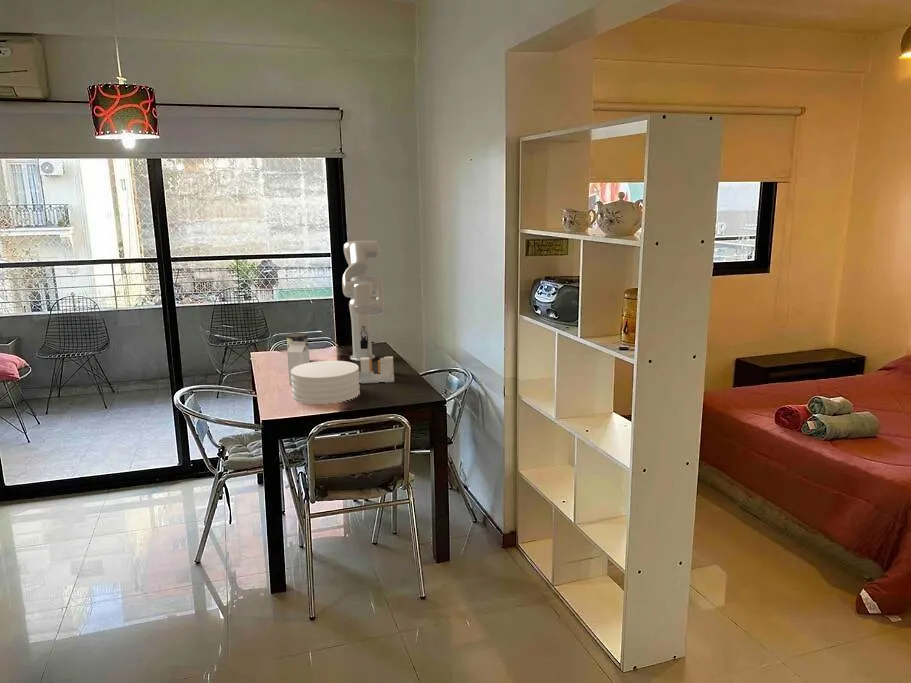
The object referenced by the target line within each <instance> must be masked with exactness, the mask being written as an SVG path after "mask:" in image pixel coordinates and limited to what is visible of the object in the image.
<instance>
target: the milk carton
mask: <svg viewBox="0 0 911 683" xmlns="http://www.w3.org/2000/svg"><path fill="white" fill-rule="evenodd" d="M305 363H310V349H309V346H308V347H307V346H306V344H305V342H295V341H290V346H289V349H288V348H287V366H288V382H289V385H292V380H291V376H292V375H291V370H292V368H294V367H296V366H298V365H301V364H305Z"/></svg>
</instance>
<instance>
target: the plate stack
mask: <svg viewBox="0 0 911 683" xmlns="http://www.w3.org/2000/svg"><path fill="white" fill-rule="evenodd" d="M359 372H360V367H359V364H357V363H354V362H351V361H345V360H319V361H311V362H310V363H305V364H301V365H298V366H296V367H294V368H292V370H291V375H292V376H291V380H292V384H291V387H292V388H291V392H292V396H291V398H292V400H294V401H295V400H296V401H295V402H297V401H298V402H297V403H300V402H302V403H301V404H304V403H309V404H308V405H313V404H325V405H328V404H327V403H334V402H341V403H343V402H342V401H345V402H347V401H346V400H349V401H351V400H350V399H352V400H354V399H356V398H358V397H359V396H360V395H361V391H360V386H361V385H360V384H359ZM358 395H359V396H358ZM355 397H356V398H355ZM353 398H354V399H353Z"/></svg>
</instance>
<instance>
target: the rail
mask: <svg viewBox="0 0 911 683" xmlns="http://www.w3.org/2000/svg"><path fill="white" fill-rule="evenodd" d="M377 370H378V371H377V372H378V373H374V371H373V370H372V371H370V372H361V371H358V372H359V383H361V384H377V383H379V382H385V383H394V382H395V374H394V373H392V374H389V358H384V357H379V359H378V360H377ZM379 384H380V383H379Z"/></svg>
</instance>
